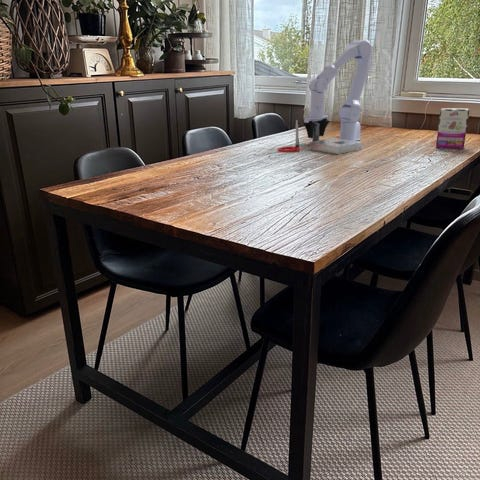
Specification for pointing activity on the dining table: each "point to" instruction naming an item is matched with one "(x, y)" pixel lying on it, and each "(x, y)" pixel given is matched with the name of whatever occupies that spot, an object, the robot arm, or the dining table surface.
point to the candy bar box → (452, 128)
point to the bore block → (336, 145)
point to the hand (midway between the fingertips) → (315, 137)
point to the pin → (316, 132)
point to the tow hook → (295, 144)
